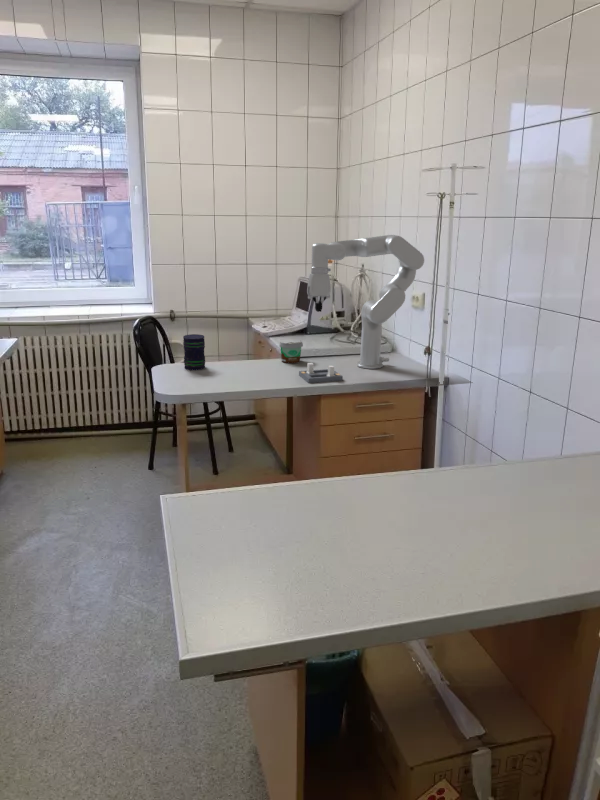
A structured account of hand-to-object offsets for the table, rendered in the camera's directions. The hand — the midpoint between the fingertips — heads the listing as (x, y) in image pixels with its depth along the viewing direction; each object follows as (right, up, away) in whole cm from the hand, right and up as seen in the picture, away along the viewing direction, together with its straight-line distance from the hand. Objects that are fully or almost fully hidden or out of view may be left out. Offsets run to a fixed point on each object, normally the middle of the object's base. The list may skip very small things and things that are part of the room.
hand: (318, 311), depth 288 cm
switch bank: (+1, -31, -9) cm, 33 cm away
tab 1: (-4, -30, -8) cm, 31 cm away
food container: (-12, -23, +17) cm, 31 cm away
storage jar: (-58, -26, +3) cm, 64 cm away
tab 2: (+5, -31, -12) cm, 33 cm away
